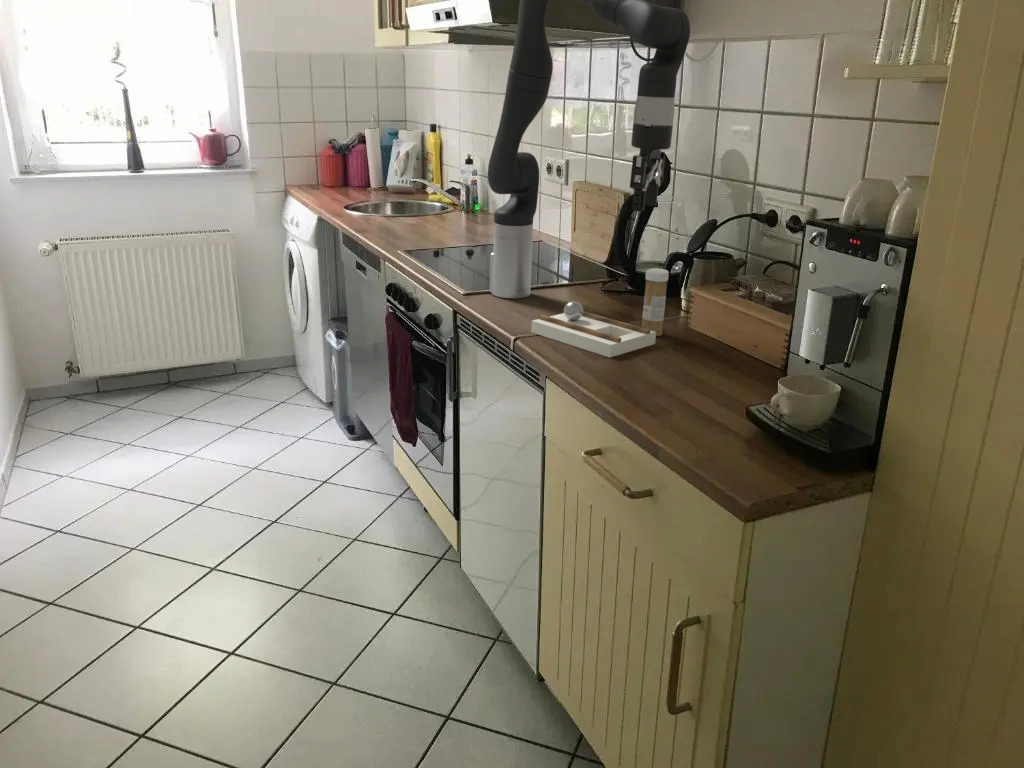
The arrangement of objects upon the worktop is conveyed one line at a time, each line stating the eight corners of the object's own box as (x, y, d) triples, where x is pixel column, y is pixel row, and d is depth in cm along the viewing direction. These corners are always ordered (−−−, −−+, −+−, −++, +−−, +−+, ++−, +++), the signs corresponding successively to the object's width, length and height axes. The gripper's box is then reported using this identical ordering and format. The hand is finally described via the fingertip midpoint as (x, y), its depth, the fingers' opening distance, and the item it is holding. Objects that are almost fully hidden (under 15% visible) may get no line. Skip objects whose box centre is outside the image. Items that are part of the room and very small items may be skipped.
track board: (531, 332, 167) (531, 316, 166) (576, 321, 176) (577, 306, 175) (609, 357, 153) (611, 340, 151) (655, 343, 162) (656, 328, 161)
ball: (559, 319, 167) (560, 300, 166) (572, 316, 170) (573, 298, 168) (573, 324, 164) (574, 304, 163) (586, 320, 167) (587, 301, 166)
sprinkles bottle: (638, 330, 170) (643, 267, 166) (659, 330, 171) (665, 267, 166) (643, 337, 166) (649, 272, 161) (665, 337, 166) (671, 272, 162)
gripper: (645, 119, 162) (637, 202, 167) (622, 122, 150) (614, 210, 155) (682, 122, 159) (672, 205, 165) (662, 124, 147) (652, 215, 152)
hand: (644, 208), depth 160 cm, fingers open, 8 cm apart
